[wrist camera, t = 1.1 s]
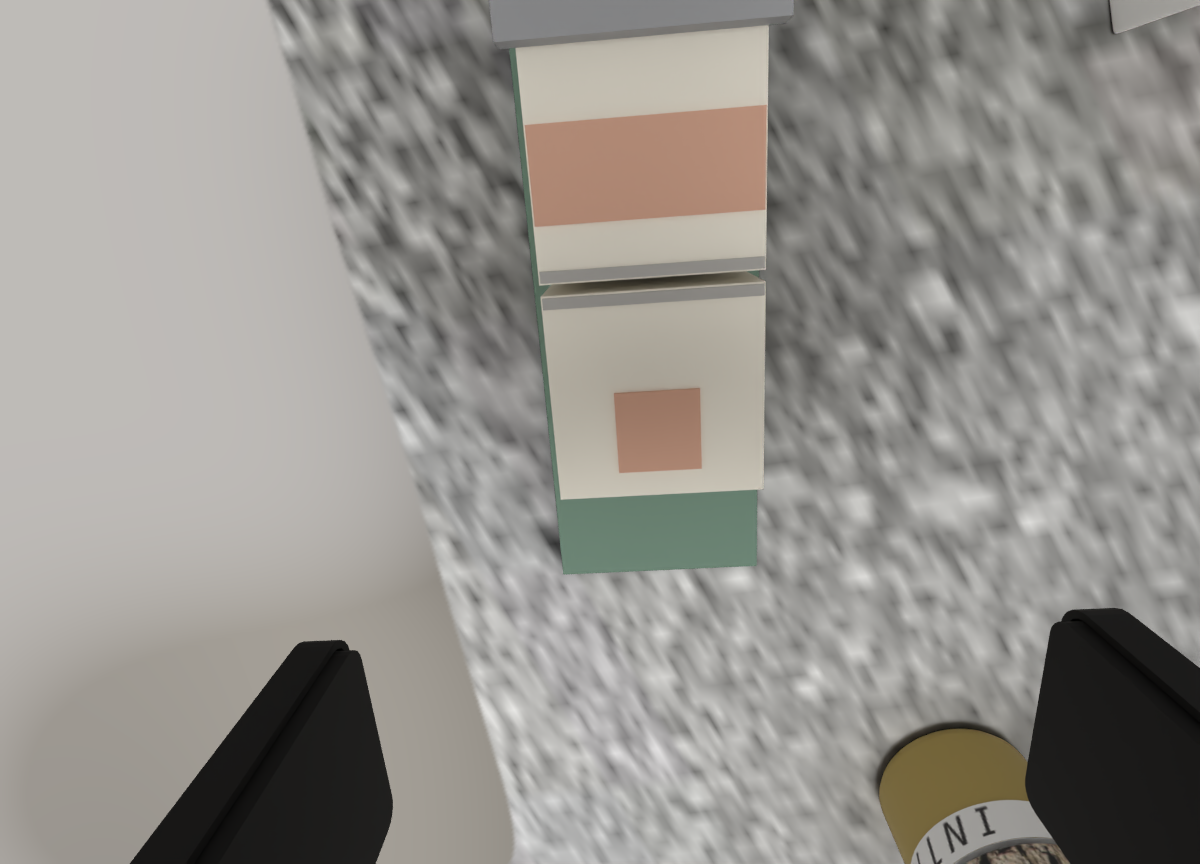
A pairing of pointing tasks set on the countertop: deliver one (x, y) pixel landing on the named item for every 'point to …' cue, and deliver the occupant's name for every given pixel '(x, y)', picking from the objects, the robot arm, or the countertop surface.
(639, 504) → the mat
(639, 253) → the lidded cream box
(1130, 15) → the milk
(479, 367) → the countertop surface
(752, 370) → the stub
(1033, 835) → the paper tube
